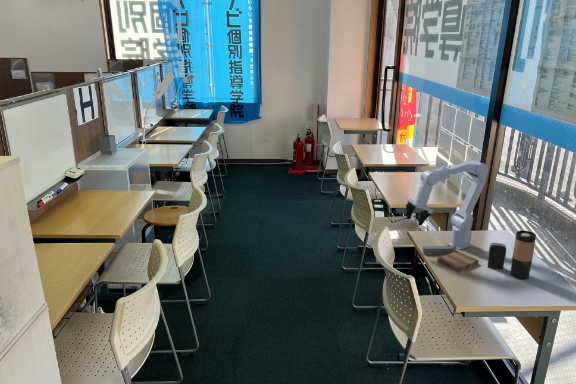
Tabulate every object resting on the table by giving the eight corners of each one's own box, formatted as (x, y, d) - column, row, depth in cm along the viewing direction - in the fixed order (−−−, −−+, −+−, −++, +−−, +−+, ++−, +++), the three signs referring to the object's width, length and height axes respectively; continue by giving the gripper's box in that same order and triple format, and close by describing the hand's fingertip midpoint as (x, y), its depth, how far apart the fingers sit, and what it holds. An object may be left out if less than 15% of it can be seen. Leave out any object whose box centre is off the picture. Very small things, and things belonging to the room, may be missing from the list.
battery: (503, 266, 203) (506, 243, 200) (503, 269, 200) (507, 246, 196) (486, 263, 205) (489, 241, 202) (486, 267, 202) (490, 244, 199)
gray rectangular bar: (448, 251, 218) (449, 246, 217) (450, 254, 215) (451, 248, 214) (422, 251, 218) (422, 246, 217) (423, 254, 215) (424, 248, 214)
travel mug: (527, 272, 197) (534, 231, 190) (530, 281, 190) (537, 238, 184) (508, 270, 199) (515, 229, 193) (510, 278, 192) (517, 236, 186)
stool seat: (452, 252, 218) (453, 244, 217) (479, 263, 206) (480, 255, 205) (431, 259, 210) (432, 252, 209) (459, 272, 198) (459, 264, 197)
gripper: (406, 190, 214) (397, 215, 217) (430, 200, 203) (420, 227, 206) (415, 191, 218) (406, 216, 221) (439, 201, 207) (429, 228, 210)
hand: (413, 221), depth 214 cm, fingers open, 7 cm apart
